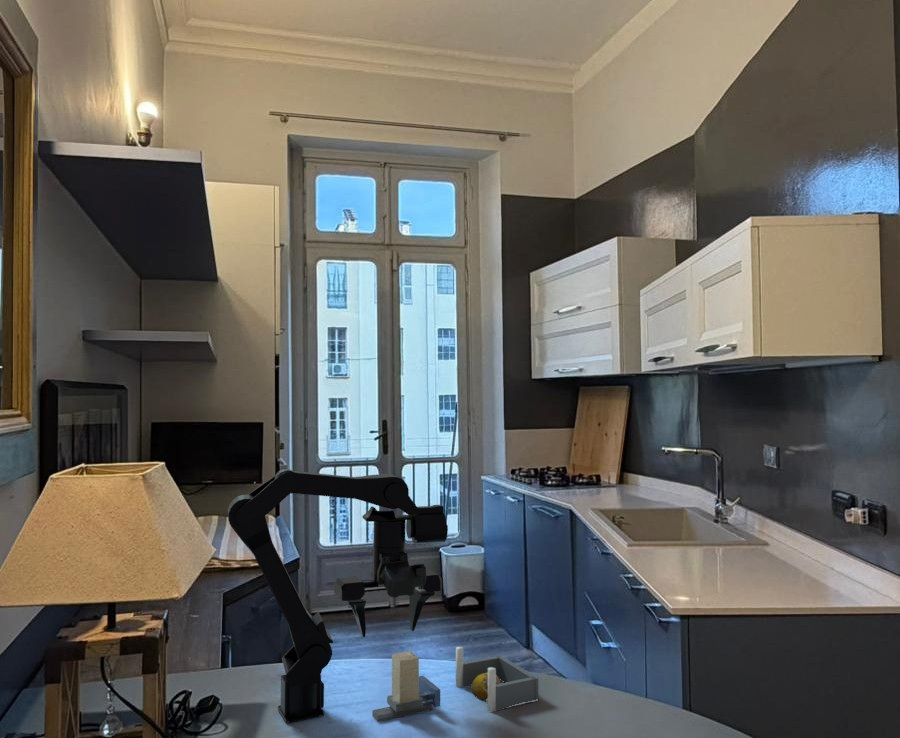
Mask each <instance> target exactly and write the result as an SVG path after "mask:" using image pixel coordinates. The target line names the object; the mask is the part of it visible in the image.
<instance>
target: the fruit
mask: <svg viewBox="0 0 900 738" xmlns="http://www.w3.org/2000/svg"><path fill="white" fill-rule="evenodd" d="M501 683H503V681H501V680H500V678H499V677H498V676H497V675H496V684H501ZM470 686H471V691H472V694H474V697H475V698H476V696H477V697H478V698H477V699H480V700H484V699H485V701H486V704H487V705H488V673H483V674H480V675H478V676H477V677H475V679H474V680H473V683H472V685H470Z"/></svg>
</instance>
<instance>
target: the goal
mask: <svg viewBox="0 0 900 738" xmlns="http://www.w3.org/2000/svg"><path fill="white" fill-rule="evenodd" d="M483 673H488V697H487V698H488V704H487V711H488V712H489V711H490V712H489V713H494V712H493V711H495V712H497V711H496V710H498V711H501V710H500V709H502V710H504V709H503V708H506V707H509V706H512V705H515V704H519V703H522V702H528V701H532V700H536V699H539V697H540V696H539V677H537V676H535V675H534V674H532V673H530V672H529V671H527V670H525V669H524V668H522V667H521V666H519V665H517V664H516V663H514V662H513V661H511V660H510V659H507V658H506V657H504V656H502V655H495V656H490V657H486V658H480V659H474V660H468V661H464V646H456V647H455V687H456V688H463V687H466V686H465V685H468V686H470V685H469V684H472V683H473V680H474V679H475V677H477V676H478V675H480V674H483ZM496 675H497V676H498V677H499V678H500V679H501V680H503V681H504V682H505V683H504V682H503V681H502V683H501V684H496Z"/></svg>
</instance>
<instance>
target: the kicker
mask: <svg viewBox="0 0 900 738" xmlns="http://www.w3.org/2000/svg"><path fill="white" fill-rule="evenodd" d="M419 658H420V657H418V655H416V654H415V653H413V651H411V650H410V651H405V652H399V653H392V654H391V695H390V694H389V695H387V697H386V698H387V699H386V702H387V703H386V704H387V705H389V707H390V706H391V707H392V708H393V709H394V710H395V711H396V712H399V711H404V710H409V709H413V708H418V707H423V701H428V702H429V703H431V704H432V707H434V708H438V707H441V689H440V688H439V686H437V685H435V684H434V682H432V681H431V680H429V679H428V678H427V677H426V676H424V675H419V672H420V670H419V669H420V663H419V662H420V660H419Z"/></svg>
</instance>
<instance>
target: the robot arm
mask: <svg viewBox="0 0 900 738" xmlns="http://www.w3.org/2000/svg"><path fill="white" fill-rule="evenodd" d="M409 491H410V489H409V486H408V484H407V482H406V481H405V480H404V479H403V478H401V477H399V476H396V475H393V474H390V473H382V474H381V473H380V474H379V473H378V474H369V475H362V476H349V475H340V474H339V475H338V474H337V475H336V474H327V473H316V472H309V471H308V472H305V471H296V470H292V469H289V468H283V469H281V470H279V471H277V472H276V474H275V475H274V476H273V477H271V478H269V479H268V480H267V481H265V482H264V483H262V484H261V485H260V486H258V487H256V488H255V489H254V490H253V491H251V492H250V493H248V494H241V495H238V496H237V497H235V498H234V499H232V500H231V502H230V503H229V506H228V508H227V514H228V515H227V519H228V523H229V525H230V527H231V529H233V531H234V533H235V534H236V535H237V536H238V538H239V539H240V540H241V542H242V543H243V544H244V545H245V546H246V547H247V549H248V550H249V551H250V552H251V553H252V555H253V557H254V558H255V561H256V562H257V564H258V567H259V569H260V571H261V573H262V574H263V577H264V579H265V581H266V583H267V585H268V587H269V588H270V590H271V592H272V595H273V596H274V599H275V601H276V603H277V605H278V606H279V608H280V611H281V612H282V615H283V617H284V619H285V620H286V623H287V625H288V629H289V632H290V635H291V636H290V637H291V639H292V643H293V645H292V647H291V648H289V649H288V651H287V652H285V654H284V655H283V656H282V657H281V660H282V664H283V668H284V674H283V675H280V705H278V706H277V710H278V712H279V714H280V715H281V717H282V719H283V720H284V721H285V723H287V724H288V723H289V724H290V723H294V722H299V721H304V720H308V719H313V718H318V717H323V716H325V712H324V710H323V708H324V707H325V683H324V682H323V681H322V672H323V669H325V668H326V667H327V666H328V665H329V663H330V662H331V659H332V657H333V649H332V645H331V644H333V643H334V640H333V638H332V635H331V633H330V631H329V630H328V629H327V628H326V626H325V622H324V620H323V619H322V616H321V614H320V612H319V611H317V612H315V614H314V615H313V616H312V614H311V613H310V612H309V611H308V610H307V608H306V607H305V605H304V603H303V601H302V600H301V599H302V598H301V597H300V595H299V593H298V591H297V589H296V587H295V585H294V583H293V581H292V579H291V577H290V574H289V573H288V571H287V569H286V567H285V565H284V563H283V561H282V559H281V556H280V555H279V553H278V551H277V548H276V547H275V545H274V543H273V541H272V537H271V536H272V535H271V532H270V530H269V528H270V527H269V526H268V523H267V519H266V516H267V515H268V514H269V513H270V512H272V511H273V510H274V509H275V508H276V507H277V506H278V505H279V504H281V502H283V500H284V499H286V498H287V497H288V496H289V495H290V494H298V495H309V496H319V497H330V498H331V497H332V498H343V499H344V498H345V499H353V500H358V501H362V502H365V503H368V504H371V505H372V506H370V507H369V509H368V511H366V512H365V513H364V514H363V515H362V519H363V520H364V521H366V522H367V523H368V522H371V523H372V522H373V539H372V540H373V541H372V543H373V547H372V548H371V556H372V571H371V572H370V573H371V574H370V575H371V576H370V578H372V580H362V579H361V578H359V577H357V576H346V577H338V578H337V579H336V580H335V582H334V585H333V593H334V595H335V596H336V597H337V598H338V599H340V601H343V602H345V603H346V604H348V605H349V606H350V608H351V610H352V612H353V615H354V618H355V621H356V624H357V627H358V630H359V633H360V635H361V637H362V638H366V631H367V630H366V629H367V628H366V627H367V626H366V625H367V624H366V611H365V608H366V602H367V600H365V599H364V598H363V597H364V596H365V594H366V593H370V592H371V593H372V592H380V591H381V592H382V591H386V592H387V595H388V596H389V597H390V598H398V597H402V596H408V597H409V602H408V603H409V608H408V609H409V610H408V611H409V613H408V615H409V619H408V620H409V630H410V631H411V632H414V631H415V629H416V627H417V623H418V621H419V618H420V615H421V613H422V610H423V608H424V606H425V603H426V602H427V601H428V600H429V599H430V598H431V597H435V595H436V592H441V591H442V590H443V580H442V577H441V576H440V575H439V574H438V573H437V572H434V571H433V570H431V569H427V567H426V566H425V564H424V563H420V564H419V563H418V564H413V565H410V563H409V556H408V552H407V551H406V537H407V538H408V539H411V541H412V543H413V544H415V545H416V544H417V545H418V544H419V545H421V544H437V543H438V544H439V543H440V544H441V543H446V540H447V538H448V532H449V531H448V530H449V528H448V526H449V525H448V524H447V518H446V514H445V512H444V510H445V509H444V508H445V507H444V506H443V505H441V504H434V505H430V506H429V505H424V506H421V505H420V506H417V505H416V503H415V502H414V501H413V500H412V498H411V497H410V493H409ZM373 505H375V506H379V507H382V508H385V509H387V510H377V509H376V507H374V506H373ZM394 510H400V511H402V512H403V513H404V514H396V513H395V511H394Z"/></svg>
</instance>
